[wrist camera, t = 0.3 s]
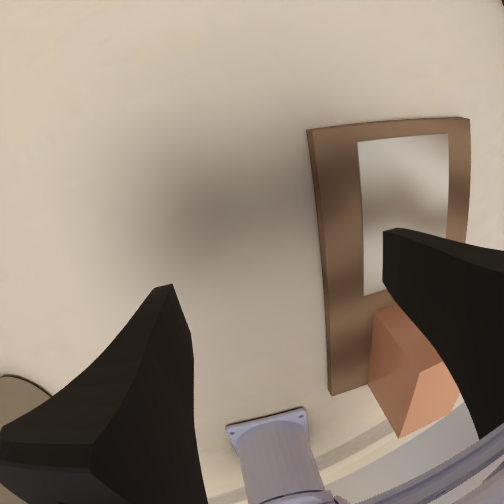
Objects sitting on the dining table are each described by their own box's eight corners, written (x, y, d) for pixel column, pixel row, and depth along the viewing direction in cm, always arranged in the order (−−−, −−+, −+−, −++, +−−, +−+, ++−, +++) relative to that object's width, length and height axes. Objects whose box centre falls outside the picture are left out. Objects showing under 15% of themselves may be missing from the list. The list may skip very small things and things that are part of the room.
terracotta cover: (415, 364, 28) (450, 412, 22) (367, 383, 28) (398, 438, 21) (429, 292, 24) (479, 341, 18) (373, 312, 24) (419, 372, 17)
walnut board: (438, 345, 29) (443, 352, 28) (328, 388, 28) (332, 397, 27) (460, 117, 19) (471, 119, 18) (306, 129, 18) (313, 131, 17)
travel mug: (76, 425, 26) (57, 581, 10) (23, 424, 25) (-6, 557, 9) (36, 372, 22) (-13, 552, 6) (-17, 374, 21) (-71, 520, 5)
